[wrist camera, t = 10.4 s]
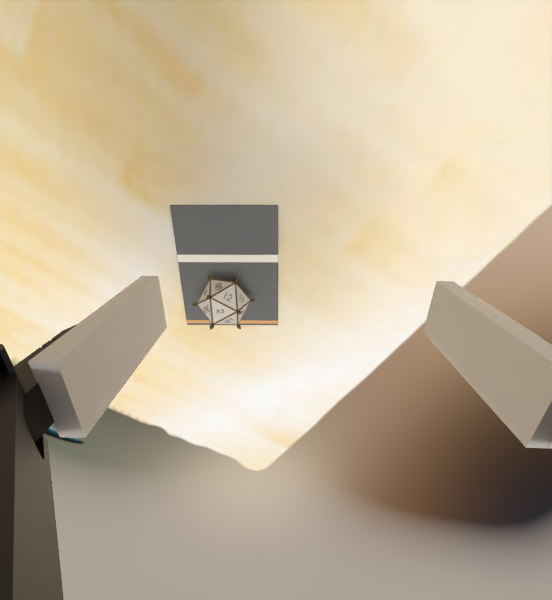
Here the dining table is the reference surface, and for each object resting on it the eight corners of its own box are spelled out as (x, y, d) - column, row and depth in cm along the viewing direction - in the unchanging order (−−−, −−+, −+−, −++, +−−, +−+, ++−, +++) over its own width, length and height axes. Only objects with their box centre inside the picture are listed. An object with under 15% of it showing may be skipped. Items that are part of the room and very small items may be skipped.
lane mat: (171, 205, 42) (169, 205, 42) (278, 205, 42) (277, 205, 42) (187, 323, 50) (187, 324, 50) (277, 323, 50) (277, 325, 50)
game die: (231, 295, 52) (207, 343, 46) (201, 262, 46) (170, 313, 41) (271, 292, 47) (249, 345, 41) (243, 255, 41) (213, 312, 36)
